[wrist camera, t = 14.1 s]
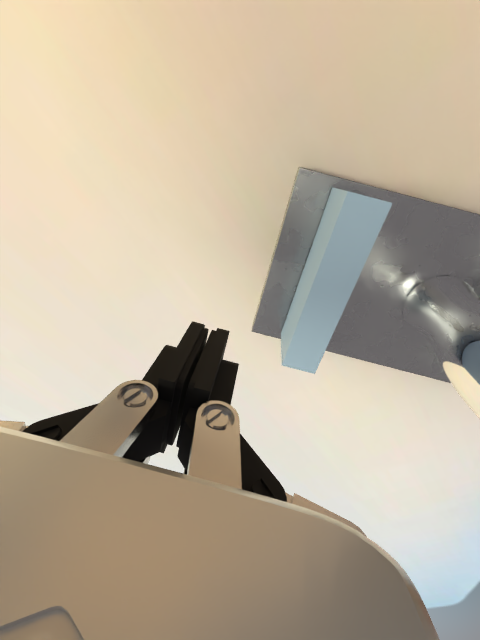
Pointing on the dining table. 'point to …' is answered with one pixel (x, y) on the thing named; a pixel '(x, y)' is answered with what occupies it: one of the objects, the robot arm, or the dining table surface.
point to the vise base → (374, 271)
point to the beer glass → (450, 330)
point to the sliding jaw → (330, 275)
